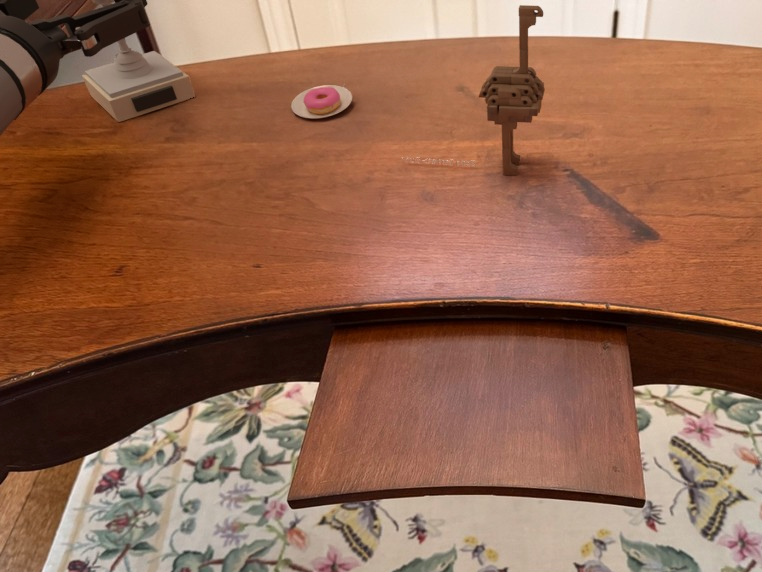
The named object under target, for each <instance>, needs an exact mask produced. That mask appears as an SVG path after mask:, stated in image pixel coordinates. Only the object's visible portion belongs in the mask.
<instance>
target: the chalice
mask: <svg viewBox="0 0 762 572" xmlns="http://www.w3.org/2000/svg"><path fill="white" fill-rule="evenodd" d="M91 2H92V3H94V4H96V5H101V6H102V7H104V6H108V5H111V4H113V3H115V2H114V0H91ZM116 43H118V47H119V50H118V53H116V54H115V55H114V59H113V63H114V62H115V63H114V69H115V71H114V76H115V77H117V78H120V79H132V78H137V77H141V76H144V75H146V74H148V73H149V72H151V71H152V69H153V68H152V66H151V65H150V64H149V63H148V62H147V60H146V59H145V58H144V57H142V54H143V53H140V52H139V51H138V50H134V49H132V48H131V47H129V45H128V44H127V40H126V38H124V39H121V40H119V41H117V42H116Z"/></svg>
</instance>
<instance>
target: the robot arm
mask: <svg viewBox="0 0 762 572" xmlns="http://www.w3.org/2000/svg"><path fill="white" fill-rule="evenodd" d="M147 5H148V1H147V0H114V2H113V3H112V4H111V5H108V6H104V7H103V6H102V7H98V8H95V9H93V10H89V11H85V12H82V13H80V14H76V15H73V16H70V15H68V14H65V13H63V14H59V15H55V16H53V17H49V18H47V19H42V18H37V19H35V20H32V21H29V22H28V21H26V19H28V18H30V17H31V16H32V15H33V14H34V13H35V12H36V11H38V10H39V9H40V6H39V4H38V1H37V0H0V136H1V135H2V134H3V133H4V132H5V131H6V129H7V128H8V127H9V126H10V125H11V124H12V123H13V122H14V121H16V120H17V119H18V118H19V116H20V115H21V114H22V113H23V112H24V111H25V110H26V109H28V107H29V106H30V105H31V104H32V103H33V102H34V101H35V100H36V99H37V98H38V97H39V96H40V95H42V93H44V92H45V90H47V89H48V87H50V86H51V85H52V84H53V83H54V82H55V80H56V79H57V76H58V74H59V69H60V61H61V59H63V58H64V57H65V56H67V55H68V54H71V53H74V52H76V51H79V50H81V51H82V53H83V55H84V56H83V57H87V58H91V57H94V56H95V55H97V54H99V52H101V51H102V50H103V49H104V48H107V47H109V46H111V45H114V44H116V43H118V42H117V41H119V40H121V39H124V38H125V39H126V38H128V37H130V36H133V35H134V34H136V33H138V32H140V31H142V30H144V29H147V28H148V27H150V26H151V23H150V20H149V17H148V15H147V12H146V9H145V8H146V6H147ZM60 25H64V26H65V29H66V31H67V33H68V34H67V33H66V32H65V30H64V29H63V28H62V27H61V26H60Z"/></svg>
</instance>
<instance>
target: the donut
mask: <svg viewBox="0 0 762 572" xmlns="http://www.w3.org/2000/svg"><path fill="white" fill-rule="evenodd" d="M346 85H347V83H346V82H344V84H343V85H342V86H340V85H335V84H324V85H317V86H314V87H311V88H308V89H306V90H304V91H302V92H300V93H298V94H297V95H296V96H295V97H294V99H293V100H292V102H291V103H290V107H291V108H290V109H291V111H292V112H293V113H294V114H295V115H297V116H299V117H301V118H305V119H313V120H314V119H315V120H316V119H323V118H328V117H329V118H330V117H332V116H335V115H337V114H339V113H341V112H343V111H345V110H346V109H347V108H348V107H349V106H350V105H351V103H352V101H353V94H352V92H351V91H350V90H349V89H347V88H346Z"/></svg>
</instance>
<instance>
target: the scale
mask: <svg viewBox="0 0 762 572" xmlns="http://www.w3.org/2000/svg"><path fill="white" fill-rule="evenodd" d="M141 54H142V57H144V58H145V59H146V60H147V62H148V63H149V64H150V65H151V66H152V68H153V69H152V71H151V72H149V73H148V74H146V75H144V76H141V77H137V78H132V79H120V78H117V77H115V76H114V71H115V69H114V63H115V62H114V61H113V62H110V63H108V64H103V65H101V66H98V67H97V66H96V67H94V68H90V69H86V70H84V74H82V75H81V77H82V80H83V82H84V84H85V86H86V89H87V91H88V93H89V95H90V97H91V98H92V99H93V100H94V101H95V102H97V103H98V104H99V105H100V106H101V107H102V109H104V110H105V111H106V112H107V114H109V115H110V116H111V117H112V118H113V119H114V120H115V121H116V122H117V123H121V122H124V121H127V120H131V119H133V118H136V117H139V116H142V115H145V114H148V113H151V112H155V111H157V110H161V109H164V108H167V107H170V106H172V105H175V104H179V103H182V102H185V101H188V100H191V99H193V97H194V98H196V93H195V90H194V87H193V83H192V81H191V79H190V76H189V75H188V74H187V73H185V71H183V70H181V69H180V68H179V67H178V66H177V65H175V64H173V63H172V62H170V60H168V59H166V58H165V57H164V56H162V55H161V54H160V53H159V52H157V51H155V50H152V51H148V52H145V53H141ZM190 98H191V99H190Z"/></svg>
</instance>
